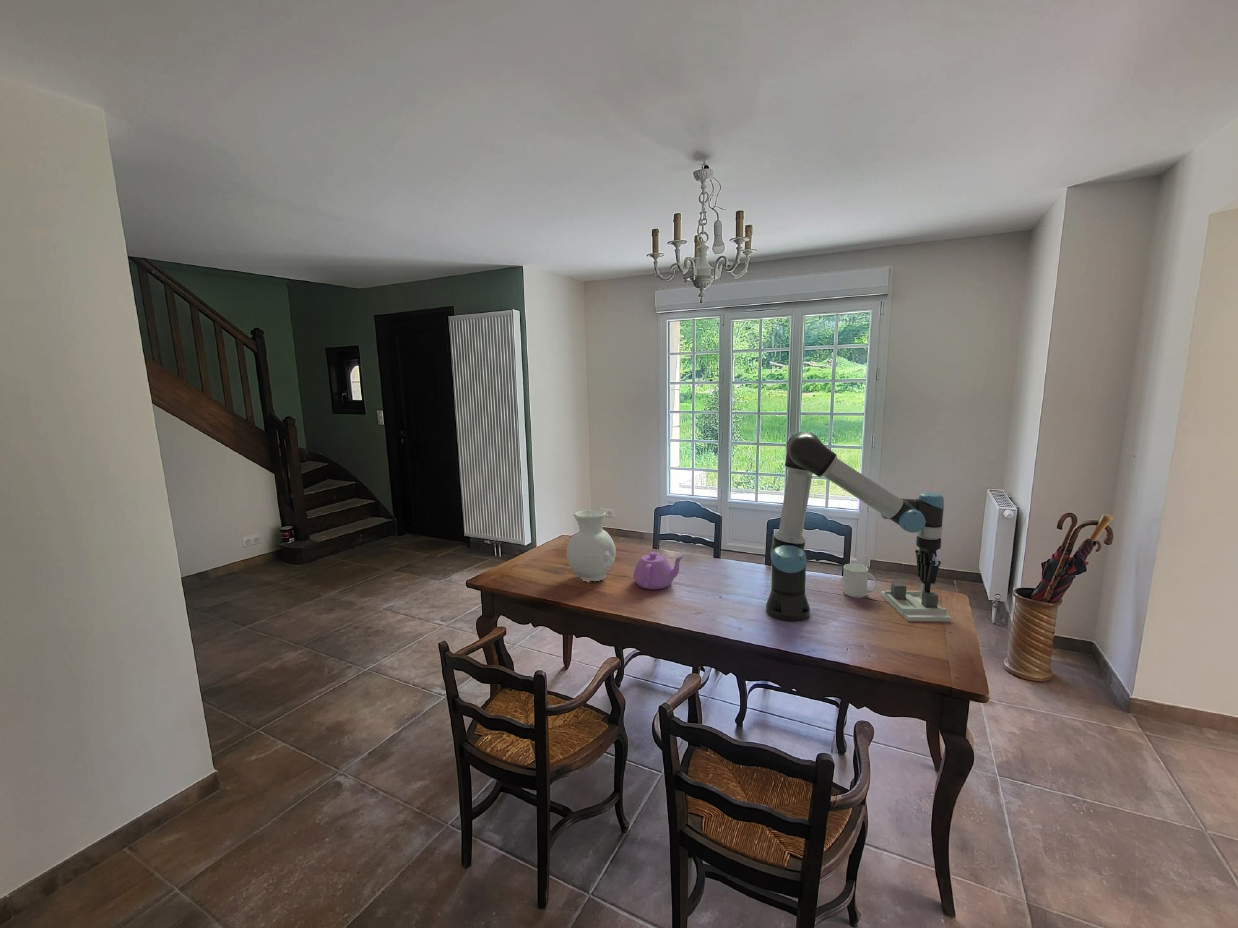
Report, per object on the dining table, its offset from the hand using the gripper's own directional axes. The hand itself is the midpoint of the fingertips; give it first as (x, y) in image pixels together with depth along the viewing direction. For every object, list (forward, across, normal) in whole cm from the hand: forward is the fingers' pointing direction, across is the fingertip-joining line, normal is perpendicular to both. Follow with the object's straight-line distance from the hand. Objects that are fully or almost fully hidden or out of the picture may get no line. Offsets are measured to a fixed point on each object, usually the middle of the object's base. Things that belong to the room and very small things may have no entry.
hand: (924, 599), depth 182 cm
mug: (+4, +12, +18) cm, 22 cm away
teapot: (+4, +21, +96) cm, 99 cm away
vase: (+4, +27, +125) cm, 128 cm away
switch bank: (+3, 0, +3) cm, 5 cm away
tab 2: (+2, -3, 0) cm, 4 cm away
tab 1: (+2, +5, +7) cm, 9 cm away
